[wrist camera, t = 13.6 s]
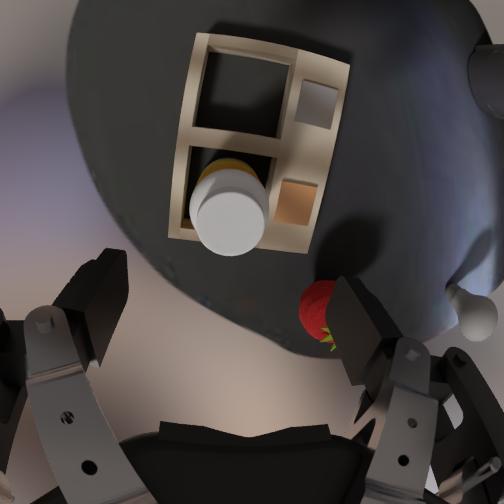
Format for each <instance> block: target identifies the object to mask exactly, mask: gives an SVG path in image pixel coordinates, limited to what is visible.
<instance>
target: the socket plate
mask: <svg viewBox="0 0 504 504" xmlns="http://www.w3.org/2000/svg"><path fill="white" fill-rule="evenodd" d="M209 52H215V53H224V54H232V55H239V56H246V57H252V58H258V59H263V60H268V61H273V62H278V63H282V64H287V65H290V66H289V71H288V76H287V81H286V86H285V91H284V97H283V102H282V107H281V112H280V117H279V122H278V127H277V133H276V138H272V137H267V136H261V135H255V134H249V133H243V132H236V131H229V130H222V129H214V128H205V127H196V126H195V124H196V118H197V112H198V106H199V100H200V95H201V89H202V84H203V79H204V73H205V68H206V64H207V59H208V54H209ZM349 69H350V65H348V64H346V63H343V62H340V61H337V60H334V59H331V58H328V57H325V56H321V55H318V54H315V53H311V52H308V51H304V50H300V49H296V48H292V47H288V46H284V45H280V44H275V43H270V42H265V41H260V40H254V39H248V38H242V37H235V36H227V35H218V34H207V33H197V35H196V39H195V43H194V48H193V52H192V57H191V61H190V66H189V71H188V76H187V81H186V87H185V92H184V98H183V104H182V110H181V117H180V123H179V130H178V137H177V145H176V153H175V161H174V171H173V180H172V191H171V203H170V217H169V233H168V238H177V239H186V240H194V241H201V240H200V238H199V236H198V234H197V231H196V230H195V228H194V226H193V224H192V221H191V219H188V218H184V214H185V203H186V194H187V184H188V176H189V167H190V159H191V152H192V146H199V147H208V148H216V149H224V150H231V151H238V152H245V153H251V154H258V155H264V156H269V157H272V158H271V163H270V169H269V174H268V179H267V184H266V189H265V191H266V194H267V196H268V200H269V216H268V220H267V223H266V225H265V229H264V233H263V236H262V238H261V239H260V241H259V242H258V244H257V245H256V246H255V247H254V248H263V249H271V250H280V251H288V252H296V253H305V254H307V252H308V249H309V245H310V242H311V238H312V234H313V231H314V227H315V223H316V219H317V216H318V212H319V208H320V204H321V200H322V196H323V192H324V188H325V184H326V180H327V176H328V172H329V167H330V163H331V159H332V154H333V150H334V145H335V141H336V136H337V132H338V127H339V122H340V117H341V112H342V107H343V102H344V97H345V91H346V86H347V80H348V75H349Z"/></svg>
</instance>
